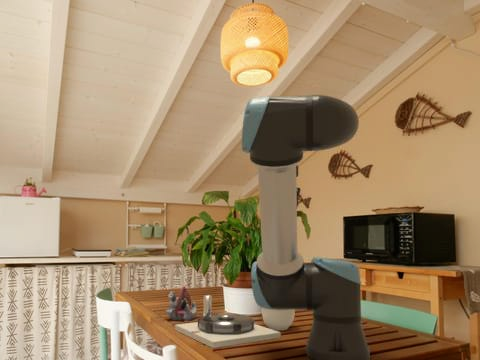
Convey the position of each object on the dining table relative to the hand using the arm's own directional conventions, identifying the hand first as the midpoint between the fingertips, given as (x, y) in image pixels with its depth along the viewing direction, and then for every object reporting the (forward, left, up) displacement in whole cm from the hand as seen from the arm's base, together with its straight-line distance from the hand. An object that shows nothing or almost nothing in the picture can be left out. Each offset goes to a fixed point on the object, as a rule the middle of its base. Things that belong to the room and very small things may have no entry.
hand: (286, 237), depth 131 cm
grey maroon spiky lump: (+32, +20, -29) cm, 48 cm away
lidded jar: (+4, +1, -29) cm, 29 cm away
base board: (+6, +19, -28) cm, 34 cm away
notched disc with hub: (+6, +19, -26) cm, 33 cm away
